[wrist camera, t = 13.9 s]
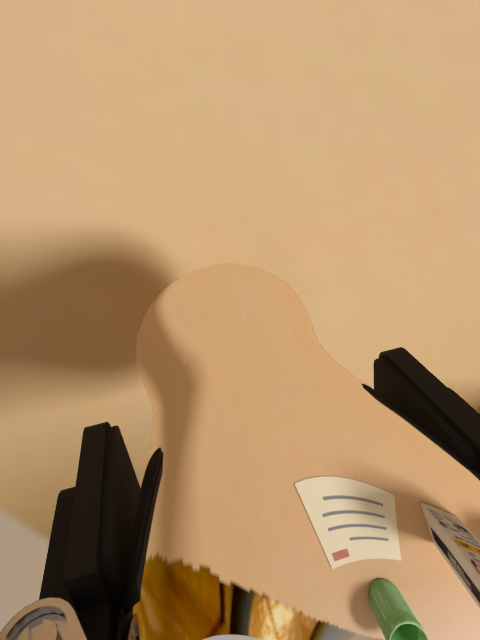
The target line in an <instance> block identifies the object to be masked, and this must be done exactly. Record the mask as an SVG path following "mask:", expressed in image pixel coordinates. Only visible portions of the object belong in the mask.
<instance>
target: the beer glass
mask: <svg viewBox="0 0 480 640" xmlns="http://www.w3.org/2000/svg"><path fill="white" fill-rule="evenodd" d="M136 360H137V367H138V371H139V374H140V377H141V380H142V383H143V386H144V388H145V391H146V393H147V396H148V398H149V401H150V404H151V407H152V413H153V430H152V435H151V441H150V447H149V453H148V458H147V463H146V467H145V472H144V477H143V481H142V486H141V491H140V495H139V501H138V506H137V511H136V516H135V521H134V526H133V531H132V536H131V541H130V547H129V552H128V557H127V563H126V570H125V577H124V584H123V591H122V599H121V606H120V613H119V620H118V627H117V634H116V640H480V474H479V473H478V472H477V471H476V470H474V469H473V468H472V467H471V466H470V465H468V464H467V463H466V462H465V461H464V460H463V459H461V458H460V457H459V456H458V455H457V454H455V453H454V452H453V451H452V450H451V449H450V448H448V447H447V446H446V445H445V444H444V443H443V442H441V441H440V440H439V439H438V438H437V437H435V436H434V435H433V434H432V433H430V432H429V431H428V430H427V429H425V428H424V427H423V426H421V425H420V424H419V423H417V422H416V421H415V420H413V419H412V418H411V417H409V416H408V415H407V414H405V413H404V412H403V411H402V410H400V409H399V408H398V407H396V406H395V405H394V404H392V403H391V402H390V401H388V400H387V399H386V398H384V397H383V396H382V395H380V394H379V393H378V392H376V391H375V390H373V389H372V388H371V387H369V386H368V385H367V384H365V383H364V382H363V381H361V380H360V379H359V378H357V377H356V376H355V375H353V374H352V373H351V372H349V371H348V370H347V369H346V368H344V367H343V366H342V365H341V364H339V363H338V362H337V361H336V360H334V359H333V358H332V357H331V356H330V355H329V354H328V353H327V352H326V351H325V349H324V348H323V347H322V345H321V344H320V342H319V340H318V338H317V336H316V333H315V330H314V328H313V325H312V322H311V319H310V317H309V314H308V312H307V310H306V308H305V306H304V304H303V302H302V301H301V299H300V298H299V296H298V295H297V294H296V292H295V291H294V290H293V289H292V288H291V287H290V286H289V285H288V284H287V283H286V282H285V281H283V280H282V279H281V278H279V277H278V276H276V275H274V274H272V273H270V272H268V271H266V270H263V269H261V268H258V267H254V266H250V265H245V264H234V263H229V264H217V265H211V266H207V267H203V268H200V269H197V270H195V271H192V272H190V273H188V274H186V275H184V276H182V277H180V278H179V279H177V280H176V281H174V282H173V283H171V284H170V285H169V286H168V287H166V288H165V289H164V290H163V291H162V292H161V293H160V294H159V295H158V296H157V297H156V299H155V300H154V301H153V302H152V304H151V305H150V307H149V308H148V310H147V312H146V314H145V316H144V318H143V320H142V323H141V325H140V328H139V332H138V336H137V341H136Z"/></svg>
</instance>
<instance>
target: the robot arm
mask: <svg viewBox="0 0 480 640" xmlns="http://www.w3.org/2000/svg"><path fill="white" fill-rule="evenodd" d="M374 390H375V391H376V392H378V393H379V394H380V395H382V396H383V397H384V398H386V399H387V400H388V401H390V402H391V403H392V404H394V405H395V406H396V407H398V408H399V409H400V410H402V411H403V412H404V413H405V414H407V415H408V416H409V417H411V418H412V419H413V420H415V421H416V422H417V423H419V424H420V425H421V426H423V427H424V428H425V429H427V430H428V431H429V432H430V433H432V434H433V435H434V436H435V437H437V438H438V439H439V440H440V441H441V442H443V443H444V444H445V445H446V446H447V447H448V448H450V449H451V450H452V451H453V452H454V453H455V454H457V455H458V456H459V457H460V458H461V459H463V460H464V461H465V462H466V463H467V464H468V465H470V466H471V467H472V468H473V469H474V470H476V471H477V472H478V473H479V474H480V414H479V413H478V412H476V411H475V410H474V409H473V408H472V407H471V406H470V405H469V404H468V403H467V402H465V401H464V400H463V399H462V398H461V397H460V396H459V395H458V394H457V393H455V392H454V391H453V390H451V389H450V388H447V387H446V386H445V385H444V384H443V383H442V382H441V381H439V380H438V379H437V378H436V377H435V376H434V375H433V374H432V373H431V372H430V371H428V370H427V369H426V368H425V367H424V366H423V365H422V364H421V363H420V362H419V361H418V360H416V359H415V358H414V357H413V356H412V355H411V354H410V353H409V352H408V351H407V350H405V349H404V348H401V347H400V348H396V349H392V350H388V351H384V352H381V353H380V355H379V359H376V360H375V361H374ZM140 491H141V488H140V486H139V483H138V480H137V477H136V474H135V471H134V469H133V466H132V463H131V460H130V457H129V454H128V452H127V449H126V446H125V443H124V440H123V438H122V435H121V432H120V429H119V427H118V426H113V427H111V426H110V424H109V423H108V422H105V423H101V424H97V425H93V426H89V427H85V428H84V431H83V438H82V445H81V452H80V459H79V467H78V474H77V481H76V487H73V488H69V489H65V490H61V492H60V493H59V495H58V499H57V504H56V510H55V515H54V521H53V526H52V531H51V537H50V542H49V548H48V553H47V559H46V564H45V570H44V575H43V581H42V587H41V592H40V598H39V600H38V601H35V602H34V603H32V604H30V605H28V606H26V607H24V608H23V609H22V610H21V611H20V612H18V613H17V614H16V615H15V616H14V617H12V618H11V620H10V621H9V622H8V623H7V625H6V626H5V627H4V628H3V629H2V631H1V633H0V640H116V634H117V627H118V620H119V613H120V606H121V599H122V591H123V584H124V577H125V570H126V563H127V557H128V552H129V547H130V541H131V536H132V531H133V526H134V521H135V516H136V511H137V506H138V501H139V495H140Z"/></svg>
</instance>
